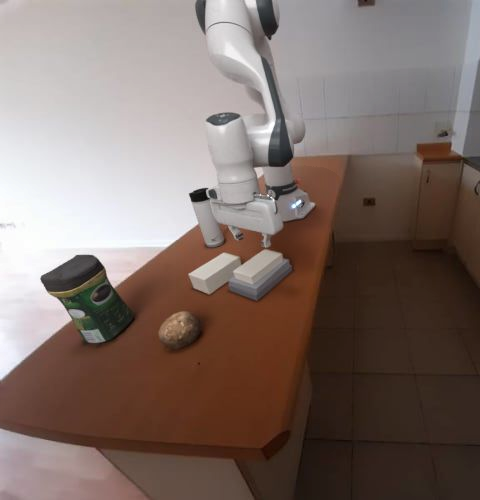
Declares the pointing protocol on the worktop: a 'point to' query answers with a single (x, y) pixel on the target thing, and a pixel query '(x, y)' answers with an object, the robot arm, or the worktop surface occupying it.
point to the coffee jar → (88, 298)
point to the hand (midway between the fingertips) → (252, 242)
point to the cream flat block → (258, 266)
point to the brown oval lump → (179, 330)
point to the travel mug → (206, 218)
